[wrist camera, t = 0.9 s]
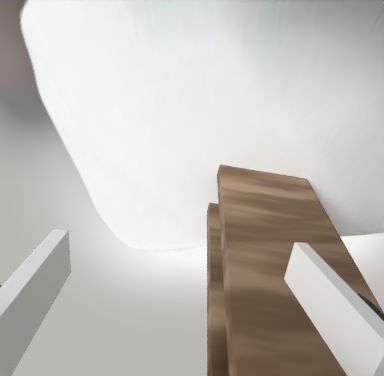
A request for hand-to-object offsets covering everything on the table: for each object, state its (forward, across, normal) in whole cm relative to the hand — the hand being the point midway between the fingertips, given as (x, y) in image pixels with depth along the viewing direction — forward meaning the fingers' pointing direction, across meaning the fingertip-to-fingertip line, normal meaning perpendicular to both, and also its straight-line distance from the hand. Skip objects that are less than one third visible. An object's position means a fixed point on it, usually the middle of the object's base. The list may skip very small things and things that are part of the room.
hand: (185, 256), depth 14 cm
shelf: (+25, +13, -5) cm, 28 cm away
